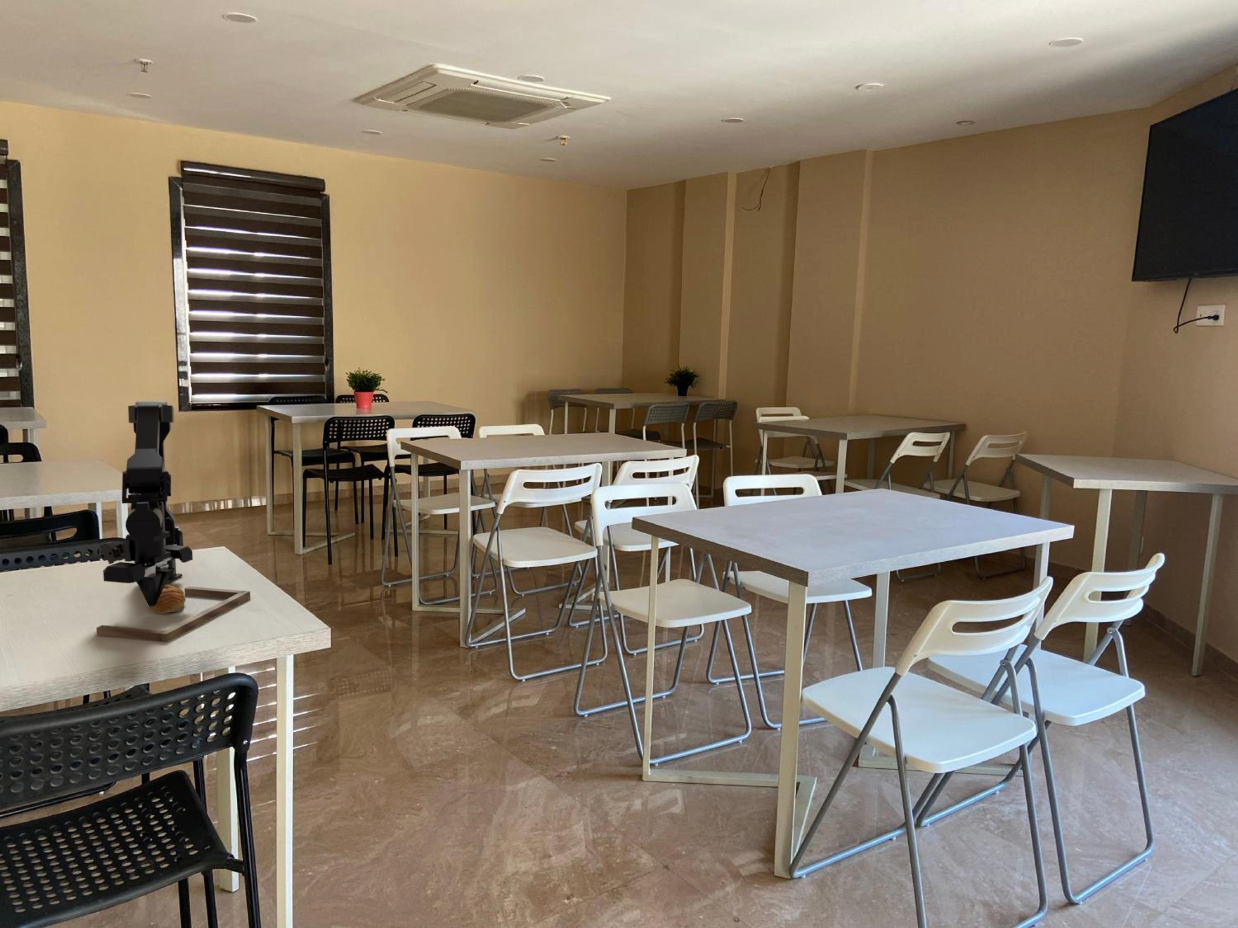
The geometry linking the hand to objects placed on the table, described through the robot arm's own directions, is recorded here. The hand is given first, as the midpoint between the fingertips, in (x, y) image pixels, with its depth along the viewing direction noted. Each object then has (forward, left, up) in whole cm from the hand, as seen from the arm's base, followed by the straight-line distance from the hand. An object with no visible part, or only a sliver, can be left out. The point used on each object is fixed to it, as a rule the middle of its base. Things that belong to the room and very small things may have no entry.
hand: (151, 605), depth 176 cm
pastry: (-5, 0, -2) cm, 5 cm away
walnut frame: (0, +5, -2) cm, 5 cm away
